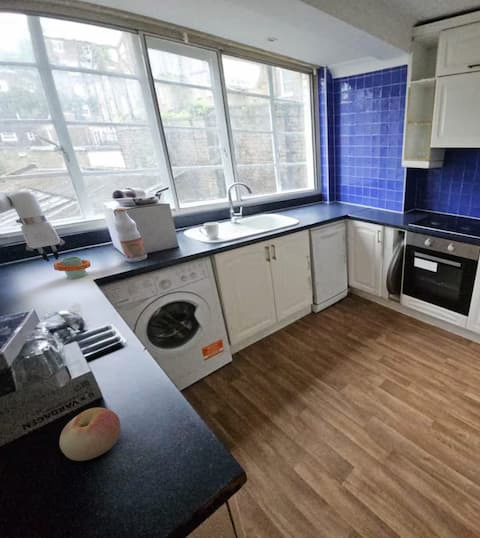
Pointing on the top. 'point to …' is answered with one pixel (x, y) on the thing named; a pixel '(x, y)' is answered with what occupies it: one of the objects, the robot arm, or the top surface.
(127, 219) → the fruit juice
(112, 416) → the apple
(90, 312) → the top surface
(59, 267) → the ring
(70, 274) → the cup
